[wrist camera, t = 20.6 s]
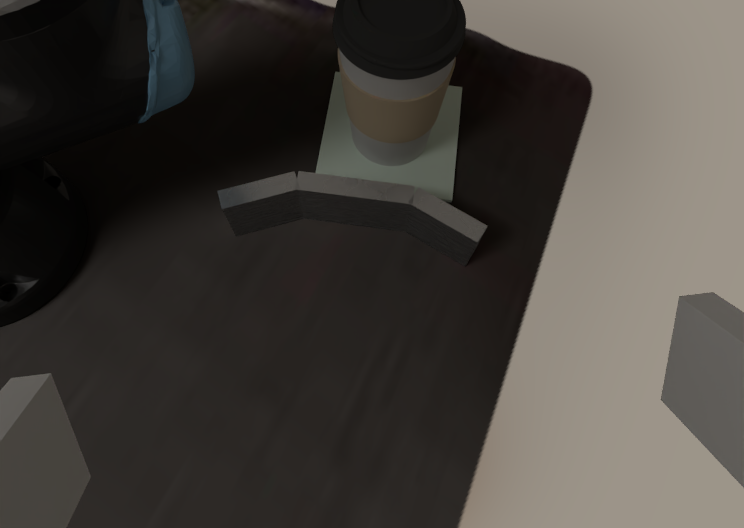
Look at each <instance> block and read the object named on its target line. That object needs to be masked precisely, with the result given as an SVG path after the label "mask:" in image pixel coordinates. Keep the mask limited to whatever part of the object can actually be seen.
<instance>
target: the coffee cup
mask: <svg viewBox="0 0 744 528" xmlns="http://www.w3.org/2000/svg"><path fill="white" fill-rule="evenodd" d="M465 27H466V18H465V13H464V9H463V6H462V4H461V2H460V1H459V0H338V1H337V4H336V9H335V14H334V18H333V35H334V38H335V41H336V44H337V46H338V62H339V68H340V74H341V80H342V86H343V92H344V98H345V104H346V109H347V113H348V116H349V119H350V126H351V132H352V138H353V142H354V144H355V146H356V148H357V150H358V151H359V152H360V153H361V154H362V155H363V156H364V157H365V158H367V159H368V160H370V161H372V162H374V163H376V164H379V165H384V166H400V165H404V164H407V163H409V162H411V161H413V160H415V159H416V158H417V157H418V156H419V155H420V154H421V153H422V152H423V150H424V149H425V147H426V144H427V141H428V138H429V135H430V132H431V129H432V126H433V125H434V123H435V122H436V119H437V117H438V114H439V111H440V108H441V105H442V102H443V99H444V96H445V94H446V91H447V88H448V85H449V82H450V79H451V76H452V73H453V70H454V67H455V62H456V56H457V54H458V53H459V51H460V50H461V48H462V45H463V42H464V38H465Z"/></svg>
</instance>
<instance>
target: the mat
mask: <svg viewBox="0 0 744 528" xmlns="http://www.w3.org/2000/svg"><path fill="white" fill-rule="evenodd" d="M461 97H462V87H457V86H449V85H448V88H447V91H446V94H445V96H444V99H443V102H442V105H441V108H440V111H439V114H438V117H437V119H436V122H435V123H434V125H433V126H432V129H431V132H430V135H429V138H428V141H427V144H426V147H425V149H424V150H423V152H422V153H421V154H420V155H419V156H418V157H417V158H416V159H415V160H413V161H411V162H409V163H407V164H404V165H400V166H384V165H379V164H376V163H374V162H372V161H370V160H368V159H367V158H365V157H364V156H363V155H362V154H361V153H360V152H359V151H358V150H357V148H356V146H355V144H354V142H353V138H352V132H351V126H350V119H349V116H348V113H347V109H346V104H345V98H344V92H343V86H342V80H341V74H340V72H335V76H334V81H333V86H332V91H331V96H330V102H329V107H328V112H327V117H326V122H325V127H324V132H323V137H322V142H321V147H320V153H319V158H318V163H317V168H316V173H318V174H326V175H333V176H341V177H349V178H357V179H365V180H372V181H380V182H388V183H396V184H404V185H411V186H415V188H414V193H415V192H416V190H417V189H418V187H419V188H421V189H423V190H425V191H427V192H428V193H430V194H432V195H434V196H435V197H437V198H439V199H441V200H443V201H444V202H451V203H452V198H453V187H454V175H455V164H456V153H457V142H458V131H459V119H460V108H461Z"/></svg>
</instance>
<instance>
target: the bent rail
mask: <svg viewBox="0 0 744 528" xmlns="http://www.w3.org/2000/svg"><path fill="white" fill-rule="evenodd" d="M414 188H415V186H411V185H404V184H396V183H388V182H380V181H372V180H365V179H357V178H349V177H341V176H333V175H326V174H318V173H310V172H302V171H299V172H298V177H297V178H296V175H295V171H293V172H289V173H285V174H282V175H278V176H274V177H270V178H266V179H262V180H258V181H254V182H250V183H247V184H243V185H239V186H235V187H231V188H227V189H223V190H219V191H217V192H218V196H219V200H220V204H221V208H222V211H223V213H224V215H225V216H226V218H227V220H228V222H229V224H230V226H231V228H232V230H233V232H234V234H235V236H239V235H243V234H247V233H251V232H254V231H258V230H262V229H265V228H269V227H273V226H277V225H280V224H284V223H288V222H291V221H295V220H299V219H303V218H305V219H312V220H320V221H328V222H335V223H343V224H351V225H358V226H366V227H374V228H381V229H389V230H397V231H404V232H407V233H408V234H410V235H412V236H414V237H415V238H417V239H419V240H420V241H422V242H424V243H426V244H427V245H429V246H431V247H432V248H434V249H436V250H438V251H439V252H441V253H443V254H444V255H446V256H448V257H450V258H451V259H453V260H455V261H456V262H458V263H460V264H461V265H463V266H466V264H467V263H468V261H469V260H470V258H471V256H472V255H473V253H474V251H475V249H476V248H477V246H478V244H479V242H480V240H481V238H482V236H483V234H484V232H485V230H486V228H487V227H488V226H487V225H485V224H483V223H481V222H480V221H478V220H476V219H474V218H473V217H471V216H469V215H467V214H466V213H464V212H462V211H460V210H458V209H457V208H455V207H453V206H451V205H450V204H448V203H446V202H444V201H443V200H441V199H439V198H437V197H435V196H434V195H432V194H430V193H428V192H427V191H425V190H423V189H421V188H419V187H418V189H417V190H416V192H415V193H414Z"/></svg>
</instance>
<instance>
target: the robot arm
mask: <svg viewBox="0 0 744 528" xmlns="http://www.w3.org/2000/svg"><path fill="white" fill-rule="evenodd" d="M194 80H195V71H194V62H193V56H192V51H191V46H190V42H189V38H188V34H187V30H186V26H185V22H184V19H183V16H182V12H181V9H180V6H179V3H178V1H177V0H0V326H3V325H6V324H9V323H12V322H14V321H17V320H19V319H21V318H23V317H25V316H27V315H29V314H30V313H32V312H34V311H35V310H37V309H38V308H40V307H41V306H42V305H44V304H45V303H46V302H47V301H49V300H50V299H51V298H52V297H53V296H54V295H55V294H56V293H57V292H58V291H59V290H60V289H61V288H62V287H63V286H64V285H65V283H66V282H67V281H68V280H69V278H70V277H71V275H72V274H73V272H74V271H75V269H76V267H77V265H78V263H79V261H80V259H81V256H82V254H83V251H84V248H85V244H86V239H87V231H88V221H87V214H86V209H85V206H84V203H83V200H82V198H81V196H80V194H79V193H78V191H77V190H76V188H75V187H74V186H73V185H72V184H71V183H70V182H69V181H68V180H67V179H66V178H65V177H64V176H63V175H62V174H61V173H60V172H59V171H58V170H57V169H56V168H55V167H54V166H53V165H51V164H50V163H48V162H47V161H45V160H44V159H42V158H40V157H42V156H45V155H47V154H50V153H53V152H56V151H59V150H62V149H65V148H67V147H70V146H73V145H76V144H79V143H82V142H85V141H87V140H90V139H93V138H96V137H99V136H102V135H105V134H107V133H110V132H113V131H116V130H119V129H122V128H125V127H127V126H130V125H133V124H136V123H139V124H140V123H143V122H145V121H147V120H148V119H149V118H150V117H151V116H152V115H154V114H156V113H158V112H161V111H163V110H165V109H168V108H170V107H172V106H174V105H177V104H179V103H181V102H182V101H184V100H185V99H186V98H187V97H188V96H189V94H190V92H191V90H192V88H193V85H194ZM661 400H662V401H663V402H664V403H665V404H666V405H667V407H668V408H669V409H670V410H671V411H672V412H673V413H674V414H675V415H676V416H677V417H678V418H679V419H680V420H681V422H683V424H684V425H685V426H686V427H687V428H688V429H689V430H690V431H691V432H692V433H693V434H694V435H695V436H696V437H697V438H698V440H700V442H701V443H702V444H703V445H704V446H705V447H706V448H707V449H708V450H709V451H710V452H711V453H712V454H713V455H714V457H715V458H716V459H717V460H718V461H719V462H720V463H721V464H722V465H723V466H724V467H725V468H726V469H727V470H728V471H729V472H730V473H731V474H732V476H733V477H734V478H735V479H736V480H737V481H738V482H739V483H740V484H741V485H742V486H743V487H744V313H743V312H742V311H740V310H739V309H738V308H736V307H735V306H733V305H731V304H730V303H728V302H727V301H725V300H724V299H722V298H721V297H719V296H718V295H716V294H715V293H703V294H695V295H687V296H680V297H679V301H678V307H677V312H676V318H675V324H674V329H673V335H672V340H671V346H670V351H669V358H668V363H667V369H666V374H665V380H664V385H663V391H662V396H661ZM90 478H91V476H90V473H89V471H88V468H87V466H86V463H85V460H84V458H83V455H82V453H81V450H80V447H79V445H78V442H77V440H76V437H75V434H74V432H73V429H72V427H71V424H70V422H69V419H68V416H67V414H66V411H65V409H64V406H63V403H62V401H61V398H60V396H59V393H58V391H57V388H56V385H55V383H54V380H53V378H52V375H51V373H49V374H41V375H33V376H25V377H17V378H11V379H10V380H9V381H8V382H7V384H6V385H5V386H4V387H3V388H2V389H1V391H0V528H66V527H67V525H68V523H69V521H70V519H71V517H72V515H73V513H74V511H75V509H76V507H77V504H78V502H79V500H80V498H81V496H82V494H83V492H84V490H85V488H86V486H87V484H88V482H89V480H90Z"/></svg>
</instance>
